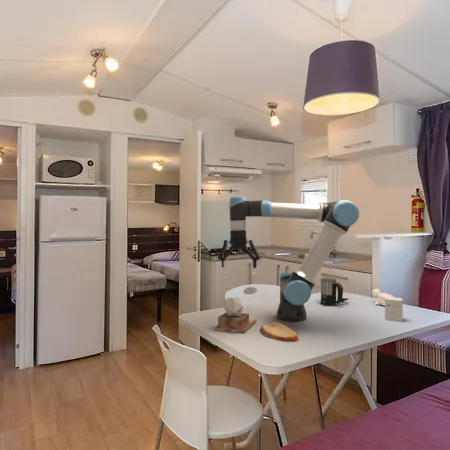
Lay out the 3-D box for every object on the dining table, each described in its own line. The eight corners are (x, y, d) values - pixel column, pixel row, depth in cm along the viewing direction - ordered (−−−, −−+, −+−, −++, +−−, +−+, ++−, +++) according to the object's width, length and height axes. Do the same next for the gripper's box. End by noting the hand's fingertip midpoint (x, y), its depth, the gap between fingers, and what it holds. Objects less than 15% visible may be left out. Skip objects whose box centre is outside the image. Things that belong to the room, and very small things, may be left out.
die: (236, 320, 165) (248, 301, 168) (219, 310, 166) (231, 290, 169) (236, 322, 173) (247, 303, 176) (219, 312, 174) (230, 293, 177)
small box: (402, 319, 187) (402, 298, 187) (402, 321, 182) (402, 300, 182) (385, 317, 191) (385, 296, 190) (384, 319, 185) (384, 298, 185)
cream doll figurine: (395, 311, 213) (375, 297, 226) (400, 298, 210) (380, 285, 223) (385, 313, 209) (365, 298, 221) (390, 300, 206) (370, 286, 218)
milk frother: (317, 304, 216) (317, 279, 216) (327, 299, 229) (327, 275, 229) (342, 308, 208) (342, 282, 208) (350, 303, 221) (350, 278, 221)
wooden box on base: (256, 322, 180) (256, 310, 180) (244, 333, 164) (244, 320, 164) (229, 319, 186) (229, 307, 185) (215, 329, 169) (215, 317, 169)
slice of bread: (298, 343, 152) (298, 334, 152) (254, 339, 157) (254, 330, 157) (301, 330, 169) (301, 322, 169) (262, 327, 174) (262, 319, 174)
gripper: (265, 229, 175) (266, 274, 176) (215, 229, 183) (217, 272, 184) (262, 229, 168) (263, 276, 168) (210, 230, 176) (211, 275, 176)
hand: (239, 274), depth 176 cm, fingers open, 13 cm apart
